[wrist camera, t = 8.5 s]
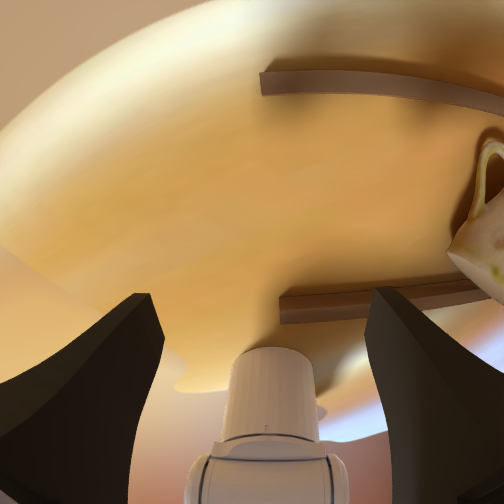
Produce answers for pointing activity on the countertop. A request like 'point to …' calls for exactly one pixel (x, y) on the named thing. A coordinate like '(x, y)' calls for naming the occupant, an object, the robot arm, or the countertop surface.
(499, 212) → the mug
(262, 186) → the countertop surface
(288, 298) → the frame
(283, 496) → the robot arm
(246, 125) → the countertop surface
